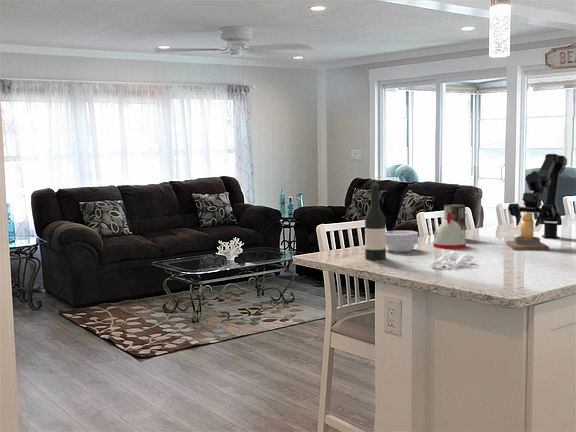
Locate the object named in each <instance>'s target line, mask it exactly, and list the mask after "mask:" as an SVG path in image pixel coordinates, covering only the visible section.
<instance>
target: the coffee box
mask: <svg viewBox="0 0 576 432" xmlns="http://www.w3.org/2000/svg"><path fill="white" fill-rule="evenodd" d="M443 207H444V208H443V209H444V211H443V213H444V214H443V216H444V217H443V218H444V219H443V222H444V221H446V220H447V217H448V213H451V215H452V220H453V221H455V222H456V223H457V224H458V225H459V226H460V227H461V229H462V231H464V234H465V235H466V206H465V204H443Z"/></svg>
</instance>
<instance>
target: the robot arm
mask: <svg viewBox="0 0 576 432" xmlns="http://www.w3.org/2000/svg"><path fill="white" fill-rule="evenodd" d="M544 158H545V159H544V161H543V162H542V165H541V167H540V168H539V170H538V171H532V172H531V173H529V174H527V175H526V176H525V178H524V179H525V182H526V187H527V189H528V190H529V191H530V192H523V195H522V199H521V200H522V201H523V206H520V205H519V203H509V204H508V207H507V209H508V211H509V213H510V216H512V217H515V222H516V226H519V224H520V223H521V220H522V219H521V218H522V213H532V214H538V216H537V218H536V220H535V222H534V224H535V225H534V226H535V228H536V227H538V226H539V225H543V227H544V229H543V235H541V237H542V238H544V239H560V236H558V226H562V224H563V220H562V219H563V218H562V216H561V213H560V208H559V206H558V205H557V204H558V197H559V196H558V195H559V188H560V182H561V181H560V180H561V175H562V174H563V173H564V171H565V169H566V166H567V164H568V159H567V157H566V156H564V155H560V154H556V153H547V154H545V157H544ZM545 189H547V193H546V194H547V195H546V200H545V201H546V202H545V203H544V204H542V200H543V198H544V197H545ZM521 212H522V213H521Z"/></svg>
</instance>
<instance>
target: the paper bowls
mask: <svg viewBox="0 0 576 432" xmlns="http://www.w3.org/2000/svg"><path fill="white" fill-rule="evenodd" d="M415 245H419V232H418V231H414V230H388V231H386V247H387V249H388V251H390V252H395V253H407V252H411V251H412V250H414V248H415Z"/></svg>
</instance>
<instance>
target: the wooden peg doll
mask: <svg viewBox="0 0 576 432" xmlns="http://www.w3.org/2000/svg"><path fill="white" fill-rule="evenodd" d="M521 218H522V219H521V220H520V236H521V239H533V237H534V226H535V225H534V224H535V222H534V220H533V213H528V212H522V213H521Z"/></svg>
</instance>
